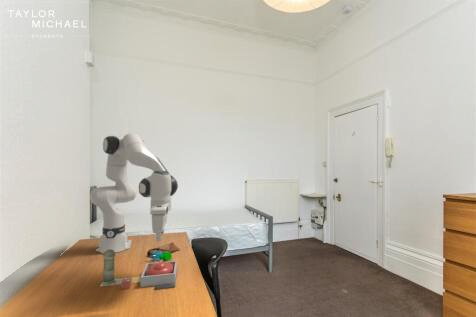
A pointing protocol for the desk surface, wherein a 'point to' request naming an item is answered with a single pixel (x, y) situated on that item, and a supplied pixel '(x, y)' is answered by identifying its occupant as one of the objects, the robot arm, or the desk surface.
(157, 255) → the stick construction toy
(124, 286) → the game board
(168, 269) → the dome
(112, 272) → the pawn
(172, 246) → the sunglasses case
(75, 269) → the desk surface
